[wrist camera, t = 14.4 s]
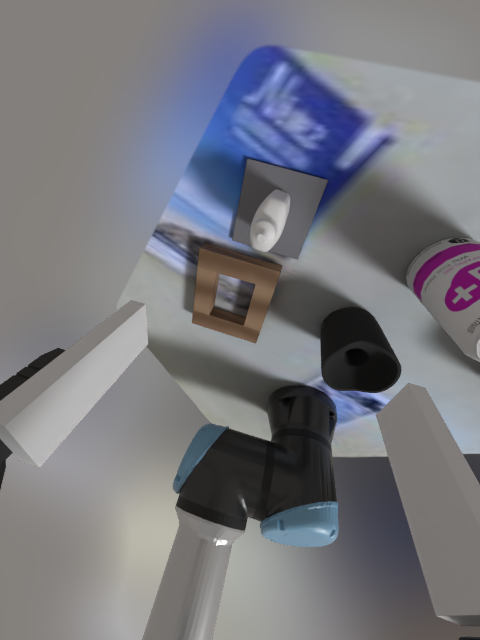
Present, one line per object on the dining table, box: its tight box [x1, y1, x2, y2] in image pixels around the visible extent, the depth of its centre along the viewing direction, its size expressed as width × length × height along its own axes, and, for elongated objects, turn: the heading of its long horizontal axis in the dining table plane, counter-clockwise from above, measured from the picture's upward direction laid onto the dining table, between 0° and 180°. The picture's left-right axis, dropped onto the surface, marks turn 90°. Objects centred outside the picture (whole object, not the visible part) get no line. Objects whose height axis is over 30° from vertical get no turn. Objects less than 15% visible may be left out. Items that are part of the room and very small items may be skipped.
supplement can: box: [406, 237, 480, 362], centre depth 23 cm, size 8×8×15 cm
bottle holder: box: [192, 243, 282, 343], centre depth 38 cm, size 14×12×2 cm
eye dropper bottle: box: [250, 190, 290, 252], centre depth 25 cm, size 4×6×12 cm
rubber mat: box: [232, 159, 328, 259], centre depth 30 cm, size 10×10×1 cm
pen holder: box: [321, 308, 401, 393], centre depth 34 cm, size 9×9×10 cm
